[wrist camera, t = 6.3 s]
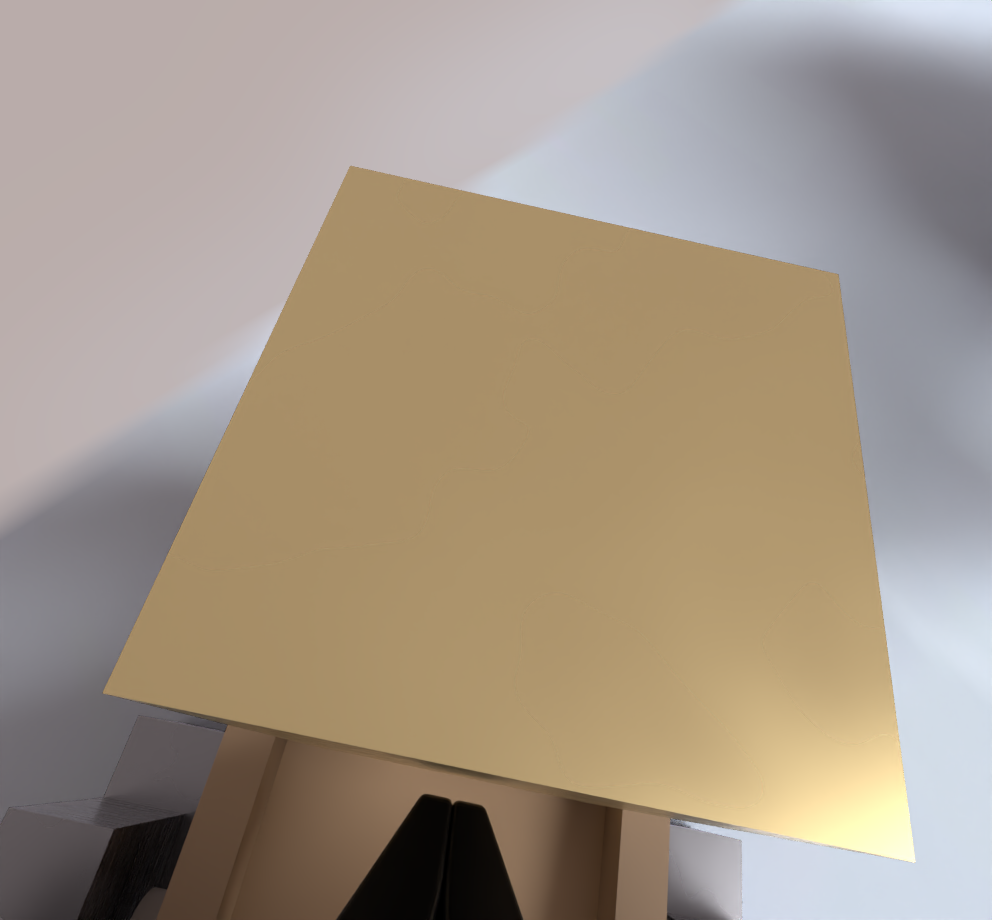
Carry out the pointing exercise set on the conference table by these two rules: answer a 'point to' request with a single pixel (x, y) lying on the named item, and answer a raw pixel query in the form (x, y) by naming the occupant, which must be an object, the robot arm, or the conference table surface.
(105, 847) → the stand
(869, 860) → the conference table surface
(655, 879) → the beam
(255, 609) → the rider
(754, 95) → the conference table surface
